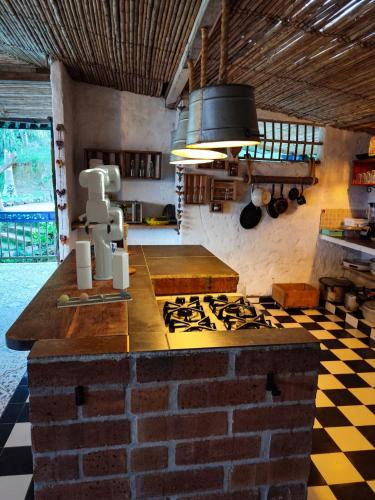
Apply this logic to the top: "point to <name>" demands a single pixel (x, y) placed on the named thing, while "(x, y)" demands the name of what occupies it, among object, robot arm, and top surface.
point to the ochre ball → (64, 299)
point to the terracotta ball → (83, 297)
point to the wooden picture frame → (80, 301)
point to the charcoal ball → (123, 293)
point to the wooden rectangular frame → (115, 298)
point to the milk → (120, 269)
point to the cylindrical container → (83, 265)
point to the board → (94, 299)
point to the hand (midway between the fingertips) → (98, 233)
